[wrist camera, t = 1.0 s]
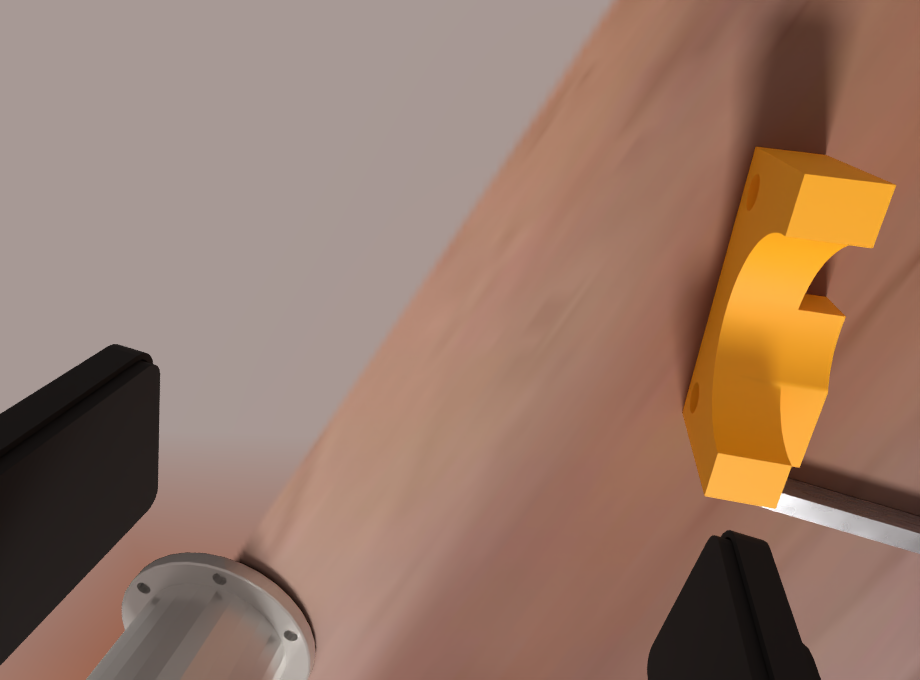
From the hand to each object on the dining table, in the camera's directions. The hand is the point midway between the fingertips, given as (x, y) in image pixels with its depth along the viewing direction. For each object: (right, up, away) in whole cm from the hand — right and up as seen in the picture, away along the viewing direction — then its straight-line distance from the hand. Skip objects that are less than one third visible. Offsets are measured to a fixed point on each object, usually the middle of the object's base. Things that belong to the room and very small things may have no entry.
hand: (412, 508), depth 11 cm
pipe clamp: (+14, +5, +17) cm, 22 cm away
